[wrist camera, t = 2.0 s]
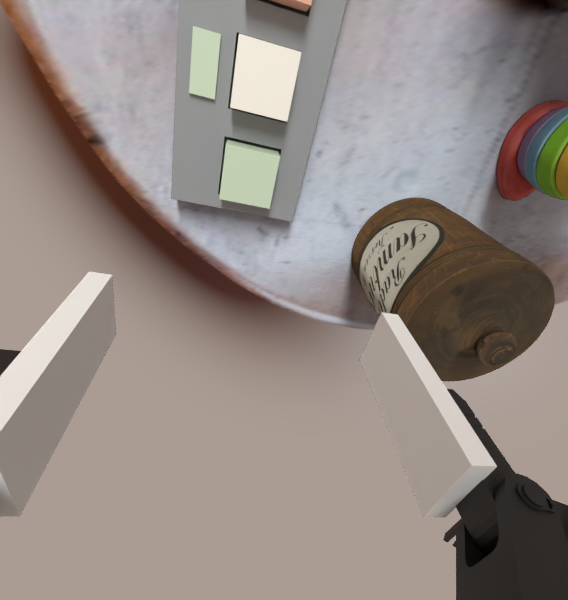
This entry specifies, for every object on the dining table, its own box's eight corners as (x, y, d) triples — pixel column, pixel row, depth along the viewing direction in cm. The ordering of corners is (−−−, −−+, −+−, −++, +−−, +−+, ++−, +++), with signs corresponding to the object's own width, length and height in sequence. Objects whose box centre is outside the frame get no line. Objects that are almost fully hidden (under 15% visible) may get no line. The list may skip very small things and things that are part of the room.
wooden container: (366, 191, 41) (462, 276, 22) (472, 202, 43) (638, 289, 25) (340, 290, 49) (395, 413, 30) (431, 296, 51) (533, 414, 33)
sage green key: (227, 139, 34) (225, 143, 31) (277, 151, 35) (280, 156, 32) (221, 191, 37) (219, 199, 34) (268, 200, 38) (269, 208, 35)
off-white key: (239, 37, 29) (238, 33, 27) (297, 54, 30) (301, 52, 28) (231, 105, 32) (230, 107, 30) (284, 119, 33) (287, 121, 31)
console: (192, -145, 25) (184, -174, 22) (359, -79, 28) (372, -97, 25) (176, 191, 39) (170, 199, 36) (289, 213, 41) (292, 222, 39)
